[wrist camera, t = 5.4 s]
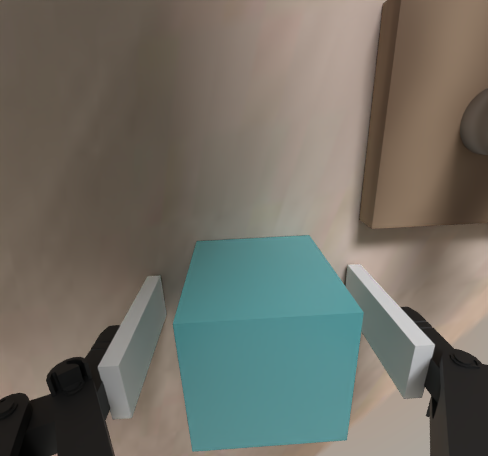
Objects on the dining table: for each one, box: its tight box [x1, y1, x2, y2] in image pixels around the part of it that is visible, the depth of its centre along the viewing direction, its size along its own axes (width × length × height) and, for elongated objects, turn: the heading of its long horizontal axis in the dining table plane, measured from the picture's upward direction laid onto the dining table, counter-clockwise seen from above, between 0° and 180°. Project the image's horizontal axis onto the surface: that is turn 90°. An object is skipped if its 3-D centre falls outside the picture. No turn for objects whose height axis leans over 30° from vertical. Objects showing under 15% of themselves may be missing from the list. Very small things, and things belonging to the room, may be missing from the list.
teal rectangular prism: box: [173, 235, 364, 452], centre depth 14 cm, size 6×6×7 cm
